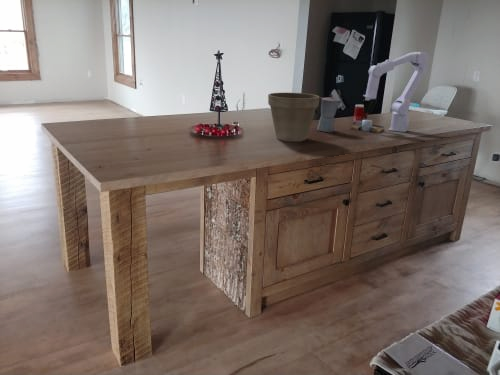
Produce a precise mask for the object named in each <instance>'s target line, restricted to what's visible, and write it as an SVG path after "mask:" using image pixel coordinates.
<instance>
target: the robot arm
mask: <svg viewBox="0 0 500 375" xmlns="http://www.w3.org/2000/svg"><path fill="white" fill-rule="evenodd" d="M429 61H430V59H429V55H428V54H427V52H424V51H411V52H409V53H407V54H404V55H402V56H400V57H398V58H396V59H393V60H391V59H386V60H385V61H382V62H379V63H377V64H376V65H374V64H373V65H372V66H370V67H369V69H368V70H367V71H368V72H367V73H368V75H369V76H368V82H367V87H366V91H365V94H363V95H362V96H363V97H364V98H365V99H362V105H364V113H367V114H369V113H372V112H373V109H374V107H375V105H376V103H377V102H378V99H377V95H378V90H379V84H380V80H381V79H380V78H381V76H383V75H384V74H386V73H388V72H390V71H393V70H395V68H396V67H397V66H400V65H403V64H406V63H409V62H410V63H411V65H412V66H413V68H414V72H413V74H412V75H411V77H410V79H409V81H408V83H407V84H406V86H405V88H404V89H403V92H402V93H401V95H400V96H399V97H397V98H396V100H395V101H394V102H393V103H392V104H391V106H390V109H391V110H390V111H391V112H392V114H391V121H390V126H389V128H388V131H394V132H401V133H406V132H407V131H408V128H409V121H410V115H407V114H408V113H409V109H410V107H411V99H412V97H413V95H414V93H415V92H416V91H417V88H418V86H419V84H420V83H421V81H422V79H423V78H424V76H425V75H426V72H427V67H428V62H429Z"/></svg>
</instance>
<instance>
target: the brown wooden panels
mask: <svg viewBox="0 0 500 375" xmlns="http://www.w3.org/2000/svg"><path fill="white" fill-rule="evenodd" d="M355 125H356V124H354V125H352V126H350V130H355V131H359V130H361V127H362V126H355ZM382 131H384V127H378V126H373V125H372V129H371V133H376V134H379V133H381V132H382Z"/></svg>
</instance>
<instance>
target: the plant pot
mask: <svg viewBox="0 0 500 375" xmlns="http://www.w3.org/2000/svg"><path fill="white" fill-rule="evenodd" d="M319 97H320V96H319V95H318V94H312V93H301V92H271V93H269V94H268V96H267V100H268V101H267V104H268V105H269V106H270V112H271V117H272V121H273V128H274V132H275V137H276V139H277V140H278V141H283V142H290V143H291V142H292V143H295V142H296V143H297V142H299V143H300V142H304V141H306V139H307V137H308V134H309V131H310V128H311V126H312V122H313V119H314V116H315V114H316V113H315V111H316V110H317V108H318V107H319V106H320V101H319Z"/></svg>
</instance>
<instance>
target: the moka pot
mask: <svg viewBox="0 0 500 375" xmlns="http://www.w3.org/2000/svg"><path fill="white" fill-rule="evenodd" d="M328 96H329V97H320V96H319V102H320V112H318V111H317V109H316V111H315V114H316V115H319V114H320V118H319V120H318V125H317V128H316V129H317V131H319V132H325V133H333V132H334V128H335V127H334V126H335V115H336V113H337V110H338V108H339V106H340V105H341V103H343V101H342V100H339V99H337V98H334V97H333V94H329V95H328Z"/></svg>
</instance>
